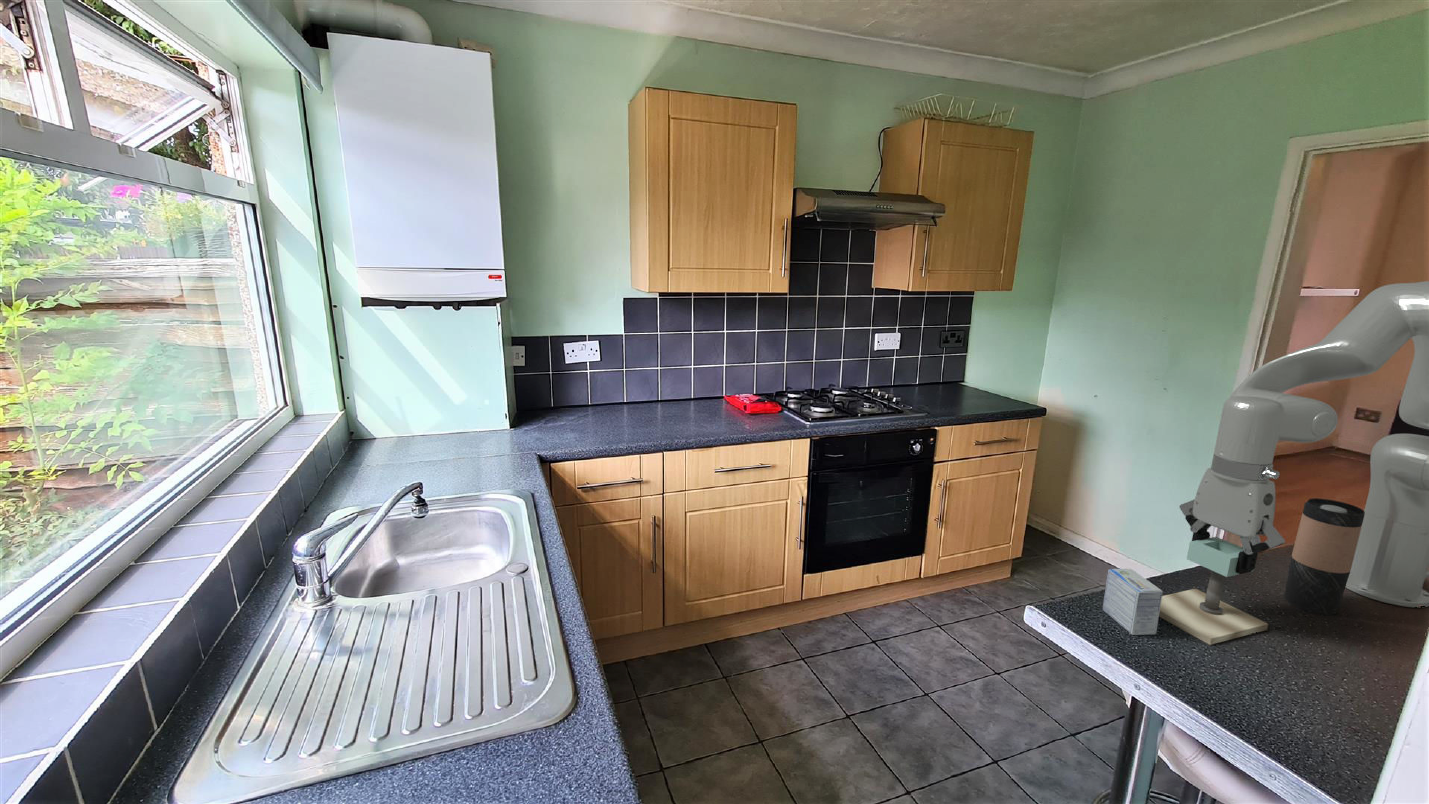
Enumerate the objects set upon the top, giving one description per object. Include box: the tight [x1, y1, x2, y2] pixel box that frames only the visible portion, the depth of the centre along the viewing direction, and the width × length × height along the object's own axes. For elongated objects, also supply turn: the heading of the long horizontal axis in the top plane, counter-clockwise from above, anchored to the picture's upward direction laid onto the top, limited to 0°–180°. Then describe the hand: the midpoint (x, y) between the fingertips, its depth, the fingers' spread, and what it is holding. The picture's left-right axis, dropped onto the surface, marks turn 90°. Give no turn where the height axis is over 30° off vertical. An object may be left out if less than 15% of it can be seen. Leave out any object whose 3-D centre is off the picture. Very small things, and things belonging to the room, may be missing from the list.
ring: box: [1186, 536, 1254, 578], centre depth 103 cm, size 7×7×4 cm
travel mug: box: [1283, 497, 1365, 616], centre depth 106 cm, size 8×8×20 cm
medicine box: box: [1102, 568, 1163, 636], centre depth 103 cm, size 8×4×9 cm, turn 0°
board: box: [1159, 570, 1269, 646], centre depth 104 cm, size 14×12×9 cm
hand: (1220, 561), depth 103 cm, fingers closed on ring, 6 cm apart
